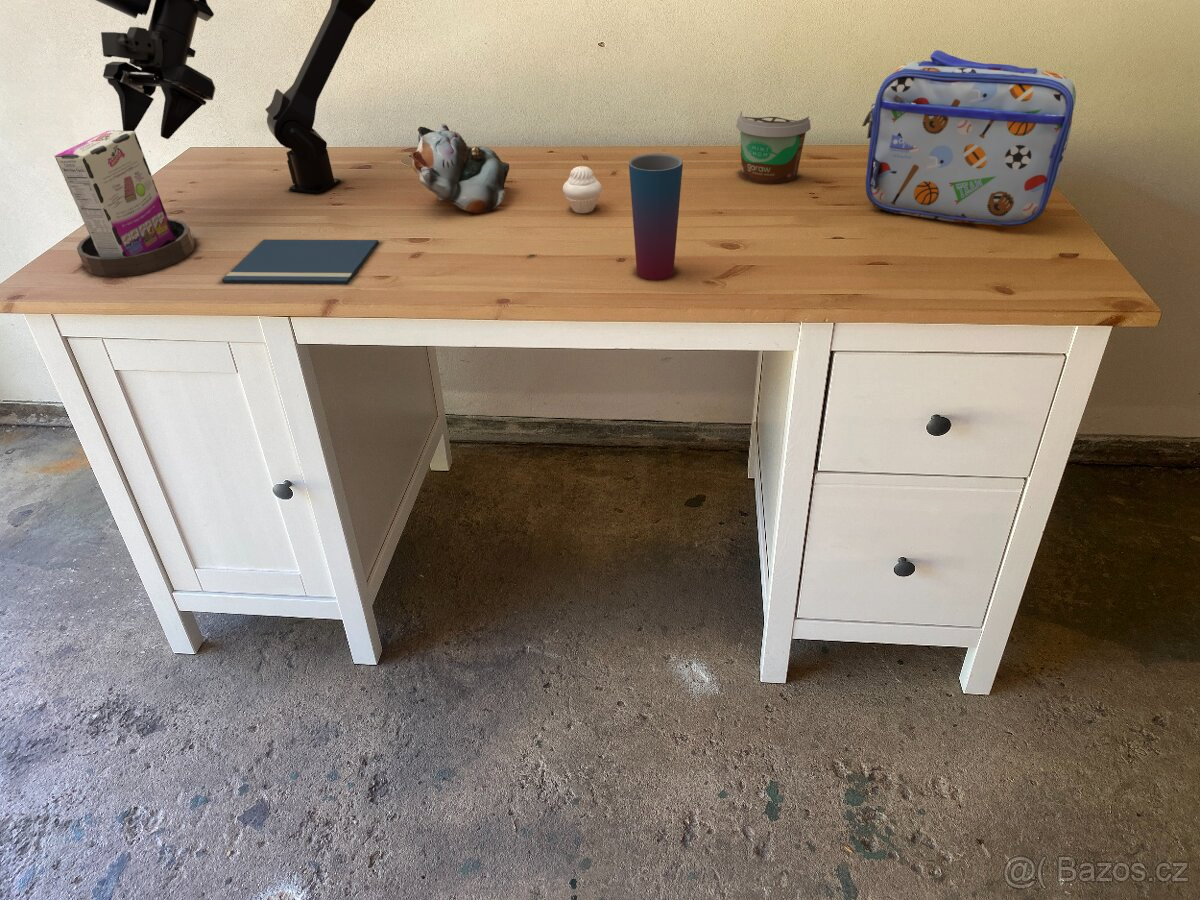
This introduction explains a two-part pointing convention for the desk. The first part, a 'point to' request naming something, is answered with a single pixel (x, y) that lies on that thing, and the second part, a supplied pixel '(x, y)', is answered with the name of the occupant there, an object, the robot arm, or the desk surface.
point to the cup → (655, 212)
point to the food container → (771, 147)
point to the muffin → (582, 190)
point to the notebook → (302, 261)
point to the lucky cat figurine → (459, 170)
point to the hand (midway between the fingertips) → (145, 135)
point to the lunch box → (968, 140)
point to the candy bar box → (116, 194)
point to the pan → (138, 255)
